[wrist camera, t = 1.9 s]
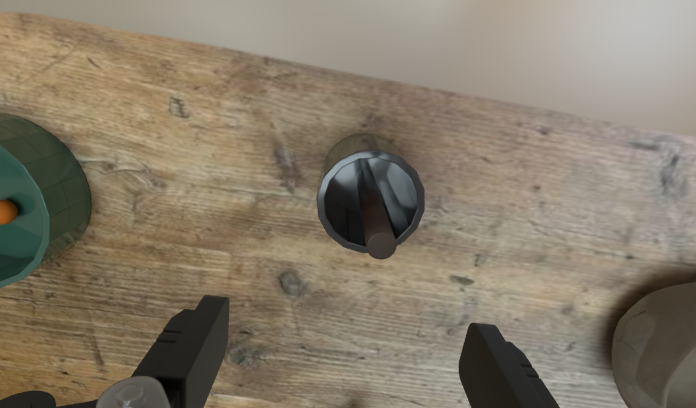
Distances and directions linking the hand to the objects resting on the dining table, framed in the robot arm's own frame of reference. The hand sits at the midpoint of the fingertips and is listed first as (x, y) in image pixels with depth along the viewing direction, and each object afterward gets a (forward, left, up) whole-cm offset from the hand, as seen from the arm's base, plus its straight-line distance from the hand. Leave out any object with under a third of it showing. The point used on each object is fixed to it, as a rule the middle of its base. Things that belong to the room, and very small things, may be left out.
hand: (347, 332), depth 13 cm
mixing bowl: (+1, -33, -27) cm, 42 cm away
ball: (+2, -33, -25) cm, 41 cm away
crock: (+2, +2, -27) cm, 27 cm away
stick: (+2, +2, -26) cm, 26 cm away
